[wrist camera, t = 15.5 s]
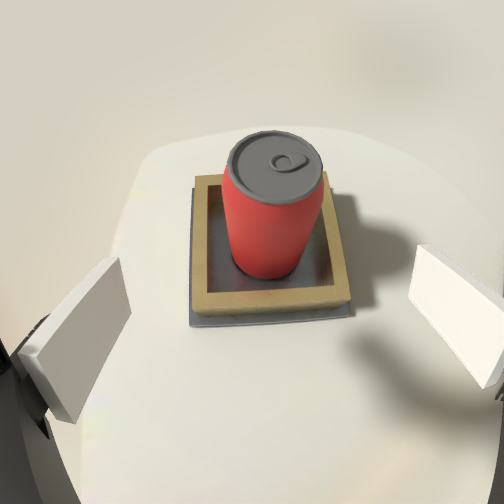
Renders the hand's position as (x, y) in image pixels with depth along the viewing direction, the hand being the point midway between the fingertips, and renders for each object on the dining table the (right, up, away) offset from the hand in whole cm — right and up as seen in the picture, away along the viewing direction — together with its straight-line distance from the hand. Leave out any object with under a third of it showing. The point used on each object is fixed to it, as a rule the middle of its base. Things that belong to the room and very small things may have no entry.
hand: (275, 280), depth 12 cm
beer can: (0, +2, +16) cm, 16 cm away
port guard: (0, +1, +16) cm, 16 cm away
